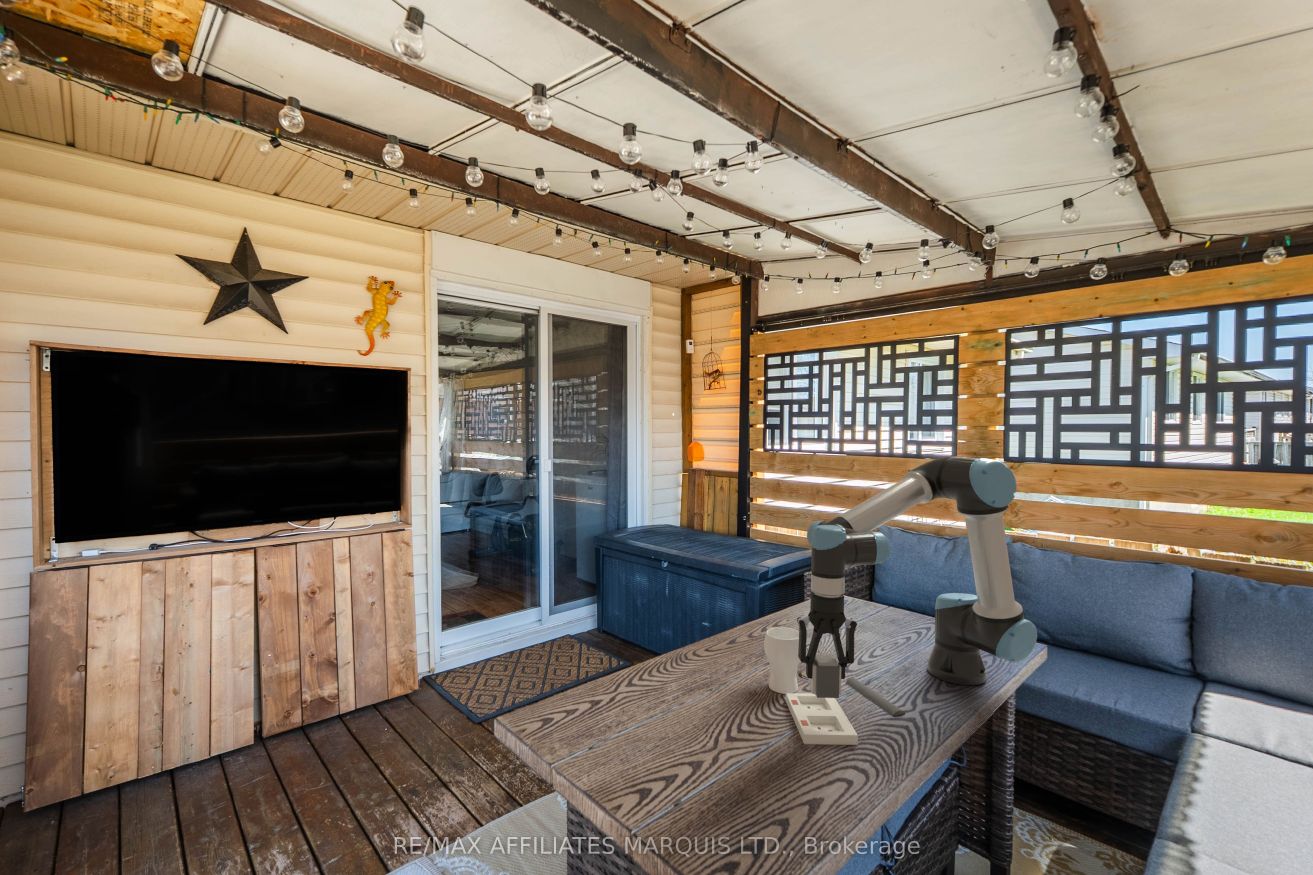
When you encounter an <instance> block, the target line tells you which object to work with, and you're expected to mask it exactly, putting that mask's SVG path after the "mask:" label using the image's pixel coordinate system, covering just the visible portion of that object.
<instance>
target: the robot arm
mask: <svg viewBox="0 0 1313 875" xmlns="http://www.w3.org/2000/svg"><path fill="white" fill-rule="evenodd" d="M1016 493H1017V480H1016V478H1015V475H1014V472H1013V471H1012V469H1011V468H1010V466H1008V465H1007V464H1005V463H1004V462H1002V461H1000V460H995V459H990V458H985V457H967V456H965V457H963V456H956V455H955V456H952V455H949V456H948V455H947V456H941V457H937V458H935V459H931V460H930V461H927V462H925V463H923V464H922V463H921V465H919V466H916V467H914V468H913V469H911V470H910V471H907V472H905V474H904V475H903V478H902V479H901V480H899V481H898V482H896V483H894V484H892V485H890V486H889V487H887V488H885V489H884V490H881V491H880V492H879V493H877V494H875V495H873V496H871V497H869V498H868V499H866V500H864V501H863V502H861V503H859V504H857V505H856V506H854V507H852V508H850V509H848V510H846V511H844V512H843V513H841V514H840V515H838V516H836V517H835V518H833V519H830V520H829V521H825V520H824V521H823V520H822V521H821V520H818V521H814V522H812V523H810V526H808V528H807V531H806V539H807V542H808V544H809V545H810V547H811V557H810V558H811V562H810V563H811V567H810V568H811V573H810V574H811V575H810V576H811V577H810V591H811V592H810V602H809V603H810V610H809V613H808V614H807V616H805V617H799V616H798V617H797V618H796V622H797V625H798V631H799V647H798V657H799V659H800V661H801V662H800V663H802V664H803V663H804V664H805V675H806V677H807V679H809V690H810V692H811V693H812V694H816V665H815V663H814V660H815V656H816V655H817V653H818V650H819V645H820V642H821V639H822V638H823V635H826V634H829V635H831V636H832V641H833V644H834V649H835V654H836V657H837V658H836V659H837V662H838V665H839V667H840V675H839V696H840V695H841V694H842V693H841V692H842V680H845V679H846V668H847V667H848V664H849V665H850V664H851V665H852V664H854V663H855V631H856V629H857V626H858V622H856V620H855V619H854V618H852V617H850V618H848V617H846V615H845V596H844V594H845V588H846V587H845V586H846V585H845V581H846V580H845V579H846V578H845V576H846V567H856V566H865V565H866V566H867V565H871V566H874V565H877V564H882V563H885V561H887V560H888V558H889V557H890V552H891V549H890V548H891V545H890V541H889V539H888V538H887V536H886V535H885V534H883V533H882V532H881V531H874V530H875V529H878V528H879V527H881V526H883V525H884V524H886V523H888V522H889V521H892V520H893V519H895V518H896V517H898V516H899V515H901V514H903V513H905V512H907V511H908V510H910V509H911V508H913V507H915V506H917V505H918V504H925V505H926V504H928V503H930V502H931V501H933V500H936V499H937V500H939V499H948V500H955V501H956V502H955V503H956V508H957V513H959V514H960V515H962V516H963V517H964V518H965V519H964V520H965V523H966V524H965V525H966V526H965V527H966V532H967V539H968V545H969V550H970V557H971V559H970V560H971V565H972V570H973V580H974V584H975V585H974V586H975V591H976V594H972V593H962V592H960V593H959V592H951V593H949V592H947V593H942V594H939V595H938V596H937V597H936V599H935V600H936V601H935V607H934V645H933V647H932V649H931V652H930V655H929V658H928V659H927V671H928V672H929V674H930V675H932V676H933V677H935V678H937V679H939V680H942V681H944V682H947V683H951V684H955V685H960V686H979V685H982V684H984V683H986V681H987V669H986V667H985V663H984V660H983V656H982V654H981V651H982V652H985V653H988V654H990V655H992V656H994V657H996V658H997V659H999V660H1005V661H1007V662H1009V663H1019V662H1022V661H1024V660H1025V659H1027V658H1028V657H1029V656H1030V655H1031V653H1032V652H1033V650H1034V648H1035V645H1036V643H1037V640H1038V630H1037V627H1036V625H1035V624H1034V623H1033V622H1032V621H1030V620H1029V619H1025V617H1024V615H1025V614H1024V610H1023V606H1022V604H1020V602H1018V601H1016V600H1015V594H1014V588H1013V587H1014V585H1013V579H1012V574H1011V573H1012V572H1011V565H1010V559H1009V551H1008V546H1007V545H1008V544H1007V538H1006V537H1007V536H1006V532H1005V525H1004V524H1005V523H1004V514H1005V513H1006V512H1007V511H1008V510H1009V505H1010V504H1011V503H1012V502H1013V501H1014V499H1015V494H1016ZM809 623H811V625H812V626H813V629H812V635H811V639H810V643H809V647H808V650H807V640H808V639H807V636H808V630H807V628H808V627H809ZM843 625H844V626H845V653H844V648H843V643H842V641H841V633H840V629H841V628H842V627H843Z"/></svg>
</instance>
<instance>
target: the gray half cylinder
mask: <svg viewBox="0 0 1313 875" xmlns="http://www.w3.org/2000/svg"><path fill="white" fill-rule="evenodd" d="M845 684H846V685H847V686H849V687H851V689H854V691H856V692H858V694H861V695H862V696H863V697H865V698H866V699H867V700H869V701H871V702H872V703H874V705H876V706H878V707H879V708H880V709H882V710H883V711H885V712H886V713H887V714H889V715H890V716H901V715H905V714H906V712H905V711H904V710H902V709H901V708H900V707H898V706H897V705H895V704H893V703H892V702H891V701H889V700H888V699H886V698H885V697H884V696H882V695H881V694H879V693H878V692H876V691H874V689H871V688H870V687H869V686H867V685H865V684H864V683H863V682H861V681H859V680H858V679H857V678H855V677H849V678H848V679H847V680H846V681H845Z"/></svg>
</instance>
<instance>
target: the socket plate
mask: <svg viewBox="0 0 1313 875" xmlns="http://www.w3.org/2000/svg"><path fill="white" fill-rule="evenodd" d="M785 703H786V704H787V705H786V706H787V707H788V710H789V713H790V714H791V716H792V719H793V721H794V723H795V726H796V728H797V731H798V732H799V736H800V738H801V739H802V742H803V744H804V745H841V746H842V745H845V746H846V745H848V746H850V745H851V746H858V745H859V744H858V743H859V742H858V741H859V738H858V736H859V735H858V733H857V732H856V730H855V729H854V727H853V725H852V723H851V722H850V720H849V719H848V717H847V715H846V714H845V712H844V710H843V709H842V707H841V706H840V704H839V702H838V700H837V698H817V697H816V695H815V694H812V692H811V693H810V692H809V693H806V692H805V693H803V692H802V693H798V692H794V693H786V694H785Z"/></svg>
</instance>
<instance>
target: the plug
mask: <svg viewBox="0 0 1313 875" xmlns="http://www.w3.org/2000/svg"><path fill="white" fill-rule="evenodd" d="M836 659H837V658H835V657H834V655H831V654H830V655H825V654H816V656H815V660H814V663H815V665H816V694H815V695H816V697H817V698H835V699H839V698H840V695H839V675H840V667H839V665H838V663H839V661H838V660H836Z"/></svg>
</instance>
